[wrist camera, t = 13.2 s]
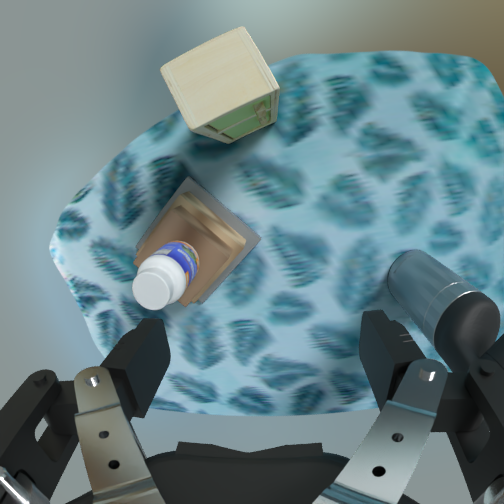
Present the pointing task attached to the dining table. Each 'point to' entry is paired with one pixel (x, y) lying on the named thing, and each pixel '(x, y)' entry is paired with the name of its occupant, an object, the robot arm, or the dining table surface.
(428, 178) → the dining table surface
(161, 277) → the pill bottle
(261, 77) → the tall beige block
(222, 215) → the base plate
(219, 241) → the brown block
